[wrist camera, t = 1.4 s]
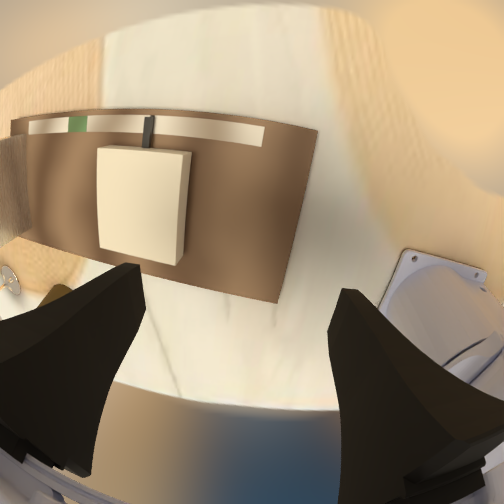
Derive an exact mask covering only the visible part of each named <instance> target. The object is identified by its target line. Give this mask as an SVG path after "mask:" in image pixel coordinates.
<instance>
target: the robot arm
mask: <svg viewBox="0 0 504 504" xmlns="http://www.w3.org/2000/svg"><path fill="white" fill-rule="evenodd" d="M413 256H416V258H415V259H413V260H412V257H413ZM475 273H476V274H475ZM486 277H487V272H486V271H485V270H483V269H479V268H476V267H472V266H469V265H466V264H462V263H459V262H455V261H452V260H448V259H444V258H441V257H437V256H434V255H430V254H426V253H422V252H419V251H415V250H411V249H407V250H405V251H404V252H403V253H402V256H401V258H400V261H399V263H398V266H397V268H396V270H395V273H394V275H393V277H392V280H391V282H390V284H389V287H388V289H387V291H386V293H385V295H384V297H383V300H382V302H381V304H380V306H379V308H378V309H377V308H376V307H375V306H374V305H373V304H372V303H371V302H370V301H369V300H368V299H367V298H366V297H365V296H364V295H363V294H362V293H361V292H360V291H359V290H356V289H345V288H342V289H341V292H340V295H339V299H338V302H337V305H336V308H335V310H334V313H333V316H332V319H331V322H330V325H329V328H328V330H327V333H328V348H329V357H330V362H331V367H332V372H333V377H334V382H335V387H336V392H337V397H338V403H339V409H340V417H341V476H340V488H339V496H338V504H504V307H503V306H502V305H501V304H500V302H499V301H498V300H497V299H496V298H495V296H494V295H493V294H492V293H491V292H490V291H489V289H488V288H487V287H486V286H485V285H484V282H485V280H486ZM145 310H146V305H145V298H144V292H143V284H142V277H141V269H140V264H134V263H127V262H125V263H123V264H120V265H118V266H116V267H114V268H112V269H110V270H109V271H107V272H105V273H103V274H102V275H100V276H98V277H96V278H94V279H93V280H91V281H89V282H87V283H86V284H84V285H82V286H80V287H79V288H77V289H75V290H73V291H71V292H69V293H67V294H65V295H64V296H62V297H60V298H58V299H56V300H54V301H52V302H50V303H48V304H45V305H43V306H41V307H38V308H36V309H34V310H31V311H29V312H26V313H23V314H20V315H17V316H14V317H12V318H9V319H5V320H2V321H0V504H66V503H65V501H64V498H63V496H62V495H64V496H66V497H68V498H70V499H72V500H74V501H76V502H78V503H80V504H129V503H127V502H124V501H121V500H118V499H115V498H113V497H110V496H108V495H105V494H103V493H101V492H98V491H96V490H93V489H91V488H89V487H87V486H85V485H83V484H80V483H78V482H76V481H74V480H72V479H70V478H68V477H66V476H65V475H62V474H61V473H59V472H57V471H55V470H53V469H52V468H53V466H55V467H57V468H58V469H60V470H64V469H66V470H68V471H70V472H71V473H74V474H75V475H78V476H80V477H82V478H85V477H88V476H90V475H91V469H92V460H93V452H94V446H95V441H96V436H97V431H98V426H99V423H100V418H101V415H102V412H103V408H104V405H105V401H106V398H107V395H108V392H109V389H110V386H111V384H112V382H113V379H114V377H115V375H116V373H117V371H118V369H119V367H120V365H121V363H122V361H123V359H124V357H125V355H126V353H127V351H128V349H129V347H130V345H131V344H132V342H133V340H134V338H135V336H136V334H137V332H138V330H139V327H140V324H141V322H142V319H143V316H144V313H145ZM60 493H61V494H62V495H61V494H60Z"/></svg>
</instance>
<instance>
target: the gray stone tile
mask: <svg viewBox="0 0 504 504" xmlns="http://www.w3.org/2000/svg"><path fill="white" fill-rule="evenodd" d="M31 228H32V224H31V217H30V209H29V199H28V187H27V170H26V134H19V135H13V136H9V137H5V138H1V139H0V247H2V246H3V245H5V244H7V243H8V242H10V241H11V240H13V239H14V238H16V237H18V236H19V235H21V234H22V233H24V232H26V231H27V230H29V229H31Z"/></svg>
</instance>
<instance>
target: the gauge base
mask: <svg viewBox="0 0 504 504" xmlns="http://www.w3.org/2000/svg"><path fill="white" fill-rule="evenodd" d="M145 117H154V121H153V129H152V139H151V148H158V149H168V150H178V151H187V152H192V156H191V164H190V174H189V184H188V194H187V206H186V218H185V233H184V249H183V256H182V258H181V259H180V260H179V262H178V263H177V264H176V266H174V265H169V264H165V263H161V262H157V261H152V260H148V259H144V258H140V257H136V256H132V255H128V254H124V253H120V252H116V251H112V250H108V249H104V248H100V243H99V230H98V213H97V148H100V147H104V146H109V145H117V146H133V147H142V137H143V127H144V118H145ZM317 133H318V131H316V130H312V129H307V128H303V127H298V126H293V125H288V124H283V123H278V122H272V121H267V120H261V119H255V118H248V117H241V116H233V115H225V114H217V113H207V112H196V111H182V110H162V109H105V110H86V111H73V112H63V113H54V114H46V115H39V116H32V117H26V118H20V119H15V120H11V134H10V136H13V135H19V134H26V170H27V187H28V199H29V209H30V217H31V224H32V228H31V229H29V230H27V231H26V232H24V233H22V234H21V235H19V237H21V238H24V239H27V240H30V241H34V242H37V243H40V244H43V245H46V246H49V247H52V248H56V249H59V250H62V251H65V252H69V253H72V254H75V255H79V256H82V257H85V258H89V259H92V260H96V261H99V262H103V263H107V264H110V265H114V266H118V265H120V264H123V263H125V262H127V263H134V264H140V269H141V273H144V274H148V275H151V276H155V277H159V278H163V279H167V280H171V281H176V282H180V283H184V284H188V285H192V286H197V287H201V288H205V289H210V290H214V291H219V292H223V293H228V294H232V295H237V296H242V297H246V298H251V299H256V300H261V301H266V302H271V303H276V304H277V303H278V299H279V295H280V291H281V288H282V284H283V280H284V276H285V272H286V268H287V264H288V260H289V256H290V252H291V248H292V244H293V240H294V236H295V232H296V228H297V224H298V220H299V215H300V211H301V207H302V203H303V198H304V194H305V189H306V185H307V180H308V176H309V171H310V167H311V162H312V157H313V153H314V148H315V143H316V138H317Z"/></svg>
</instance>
